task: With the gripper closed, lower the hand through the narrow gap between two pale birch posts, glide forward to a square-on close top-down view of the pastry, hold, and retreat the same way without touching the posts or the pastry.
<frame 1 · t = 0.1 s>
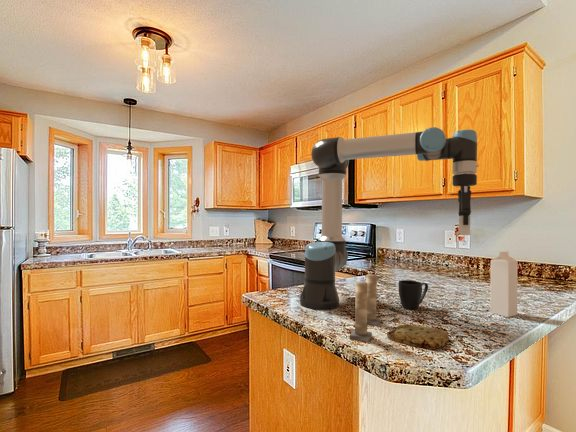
hand: (463, 234, 110), 28 cm above the worktop, fingers open, 13 cm apart
post 1: (360, 337, 86), on the worktop
mug: (414, 307, 116), on the worktop
pastry: (417, 339, 86), on the worktop
post 2: (370, 322, 98), on the worktop
milk: (503, 314, 110), on the worktop
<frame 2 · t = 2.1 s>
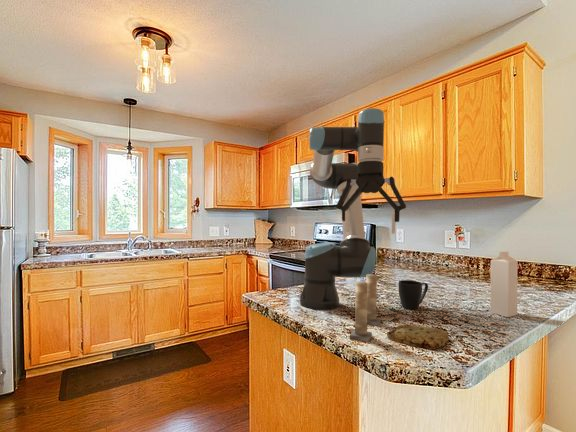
hand: (369, 232, 93), 29 cm above the worktop, fingers open, 13 cm apart
nothing on the worktop moved.
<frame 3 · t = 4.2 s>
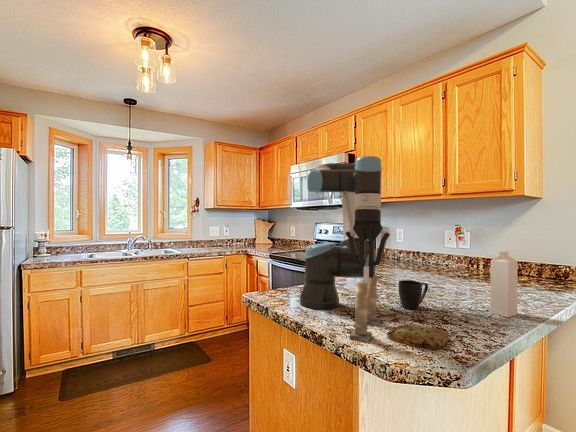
hand: (366, 288, 92), 12 cm above the worktop, fingers closed
nothing on the worktop moved.
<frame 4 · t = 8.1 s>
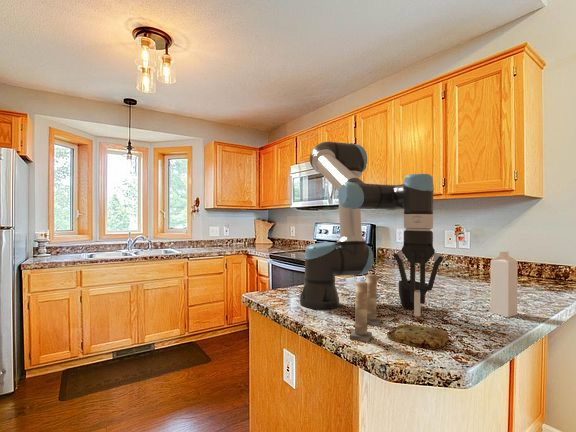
hand: (417, 314, 86), 6 cm above the worktop, fingers closed
nothing on the worktop moved.
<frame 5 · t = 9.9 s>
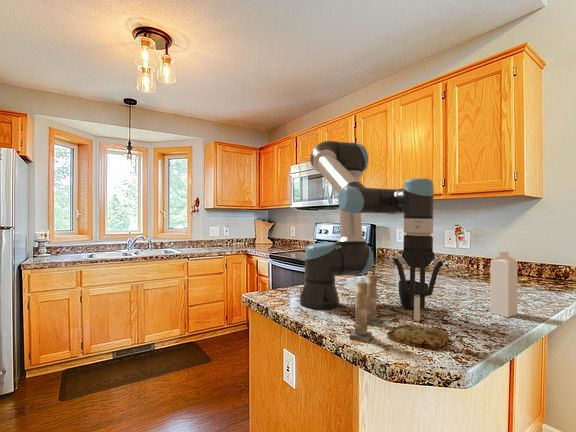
hand: (417, 319, 86), 5 cm above the worktop, fingers closed
nothing on the worktop moved.
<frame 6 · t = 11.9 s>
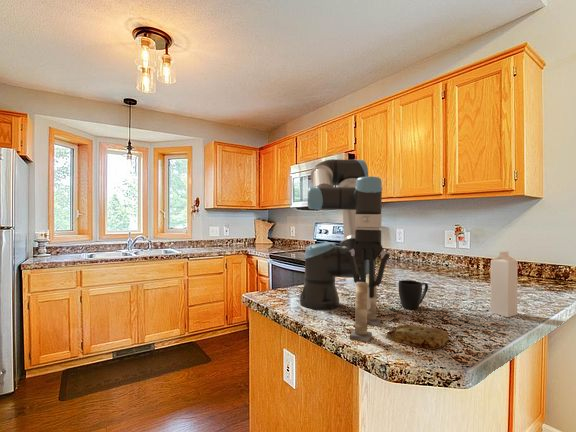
hand: (367, 308, 92), 6 cm above the worktop, fingers closed
nothing on the worktop moved.
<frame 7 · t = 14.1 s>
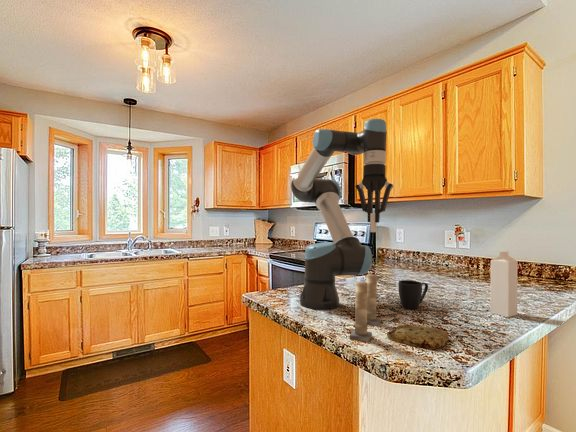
hand: (373, 231, 108), 28 cm above the worktop, fingers closed
nothing on the worktop moved.
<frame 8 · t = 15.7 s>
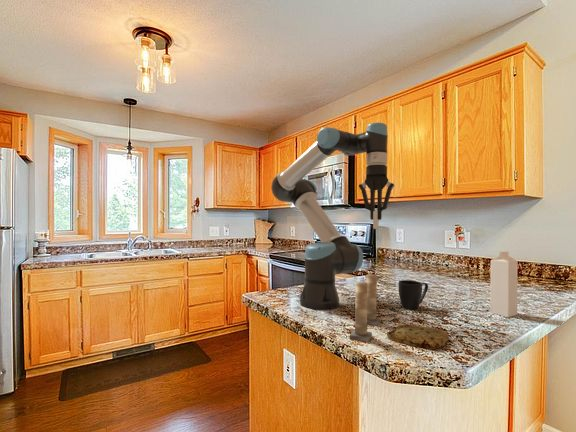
hand: (375, 228, 115), 29 cm above the worktop, fingers closed
nothing on the worktop moved.
at the end: pastry moved 0.7 cm from its start; post 2 moved 0.0 cm from its start; post 1 moved 0.0 cm from its start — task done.
